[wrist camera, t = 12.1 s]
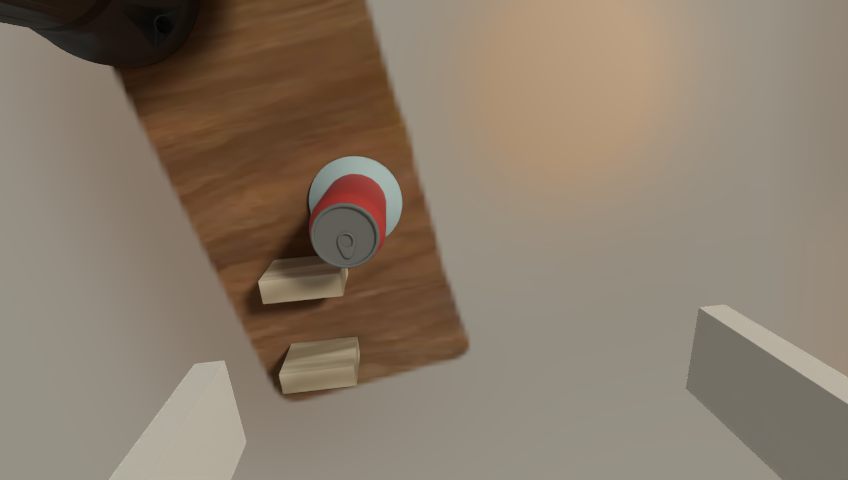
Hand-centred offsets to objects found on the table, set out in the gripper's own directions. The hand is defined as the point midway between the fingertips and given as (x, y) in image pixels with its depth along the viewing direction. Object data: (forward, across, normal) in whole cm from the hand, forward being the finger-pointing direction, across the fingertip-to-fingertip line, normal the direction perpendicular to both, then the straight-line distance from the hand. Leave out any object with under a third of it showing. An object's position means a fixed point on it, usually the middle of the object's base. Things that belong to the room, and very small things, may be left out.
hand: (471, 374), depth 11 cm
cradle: (+35, -12, -15) cm, 40 cm away
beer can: (+34, -6, -2) cm, 35 cm away
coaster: (+35, -6, -2) cm, 35 cm away
